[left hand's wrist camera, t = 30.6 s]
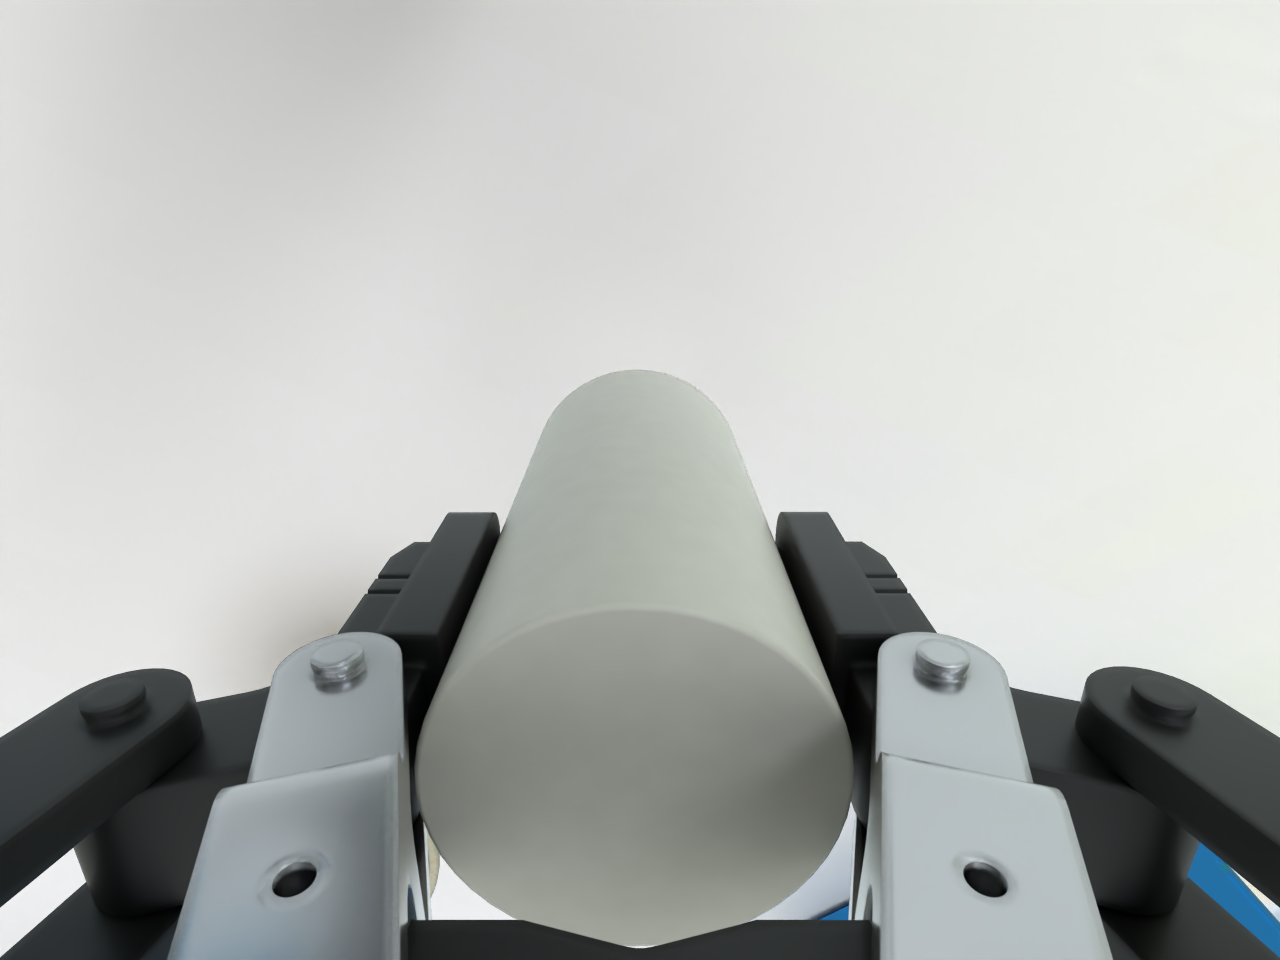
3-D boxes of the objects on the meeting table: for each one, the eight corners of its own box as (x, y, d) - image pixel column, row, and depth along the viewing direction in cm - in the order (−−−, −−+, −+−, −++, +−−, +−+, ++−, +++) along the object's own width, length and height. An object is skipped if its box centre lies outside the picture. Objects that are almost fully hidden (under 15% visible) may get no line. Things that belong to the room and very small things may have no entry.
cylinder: (495, 466, 16) (321, 793, 7) (638, 324, 15) (636, 509, 6) (636, 591, 17) (632, 1004, 9) (778, 468, 16) (946, 797, 7)
